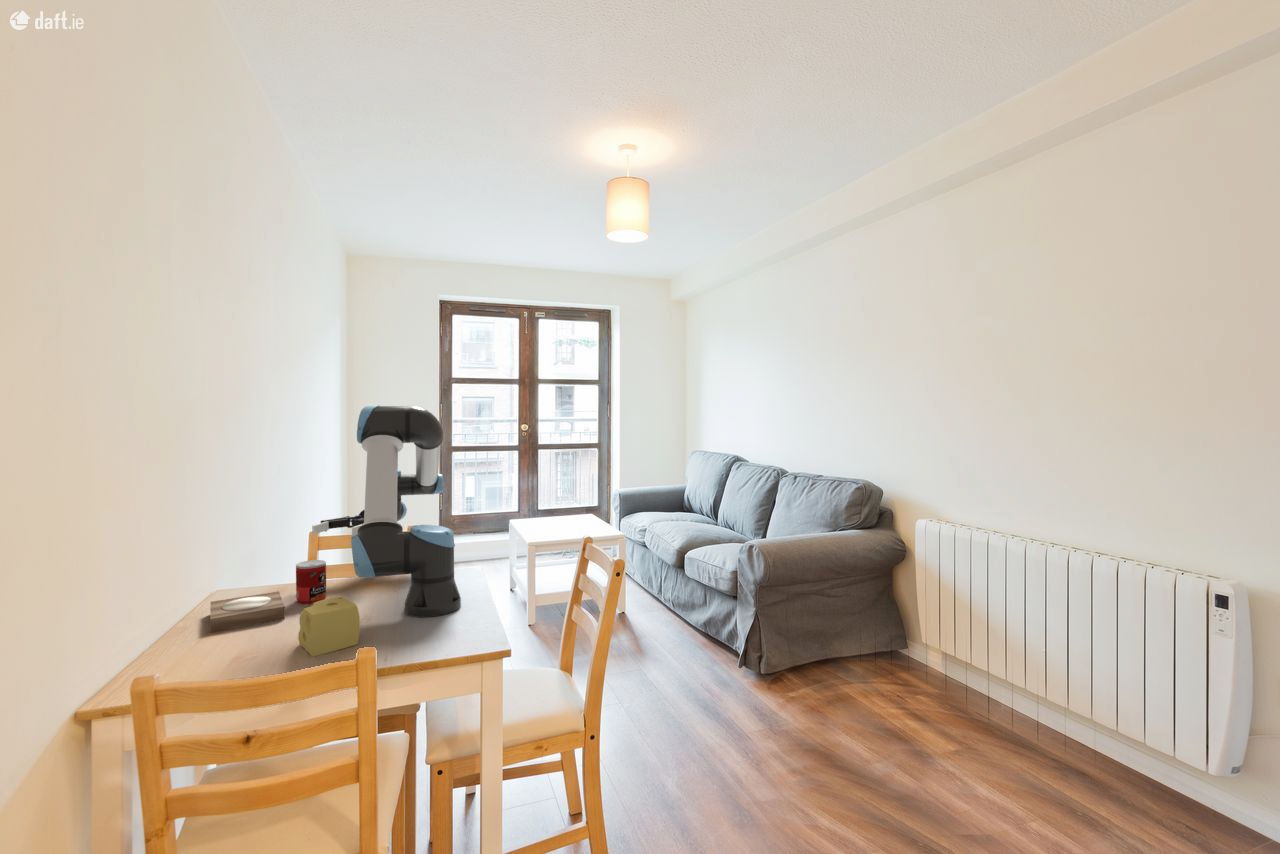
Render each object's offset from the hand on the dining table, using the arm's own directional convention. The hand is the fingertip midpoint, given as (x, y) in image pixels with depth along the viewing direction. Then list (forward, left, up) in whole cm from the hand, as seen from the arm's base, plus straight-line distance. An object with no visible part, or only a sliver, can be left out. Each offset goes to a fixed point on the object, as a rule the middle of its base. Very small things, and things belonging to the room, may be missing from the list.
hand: (332, 530), depth 181 cm
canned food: (-7, +7, -19) cm, 21 cm away
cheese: (-47, +8, -19) cm, 51 cm away
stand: (-13, +23, -18) cm, 32 cm away
